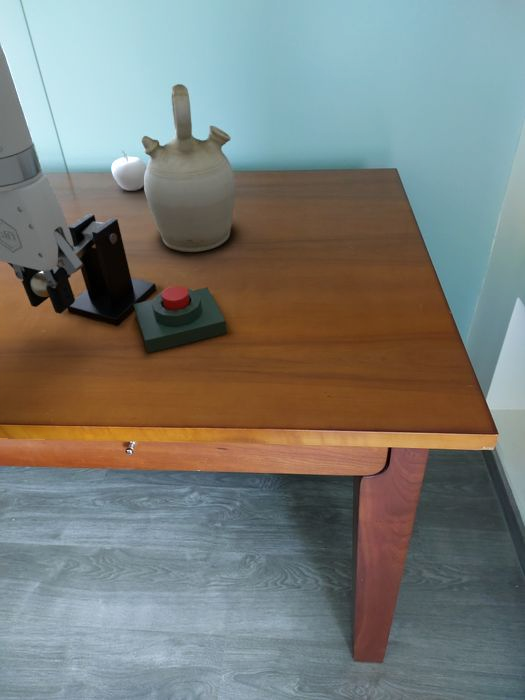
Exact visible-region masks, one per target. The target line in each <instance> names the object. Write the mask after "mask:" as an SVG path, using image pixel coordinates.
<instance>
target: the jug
mask: <svg viewBox="0 0 525 700" xmlns="http://www.w3.org/2000/svg"><path fill="white" fill-rule="evenodd" d="M170 94H171V109H172V119H173V126H174V136H173V138H172V139H171V140H170V141H168V142H167V143H166V144H164V145H160V141H159V140H158V139H153V138H151V137H150V136H148V135H144V136H143V137H142V138H141V144H142V146H143V148H144V153H145V155H147V156H149V157H150V158H149V159H148V162H147V164H146V170H145V176H144V184H143V189H144V195H145V199H146V202H147V204H148V207H149V210H150V212H151V215H152V218H153V221H154V223H155V226H156V228H157V230H158V233H159V235H160V237H161V239H162V241H163V244H164V245H165V246H167V247H168V248H169V249H171V250H174V251H177V252H182V253H200V252H205V251H210V250H213V249H215V248H217V247H219V246H221V245H223V244H224V243H225V242H226V241H227V240H228V239H229V237H230V235H231V229H232V224H233V215H234V209H235V208H234V207H235V198H236V180H235V179H236V178H235V174H234V173H235V172H234V169H233V168H232V165H231V163H230V161H229V159H228V157H227V156H226V154H225V153H224V152H223V150H222V148H223V146H224V145H226V144H227V143H228V142H230V141H231V139H232V138H231V136H230V135H229V134H228V133H227V132H225V131H224V130H222V129H221V128H219V127H217V126H215V125H210V126H209V132H208V137H207V138H206V139H198V138H196V137H194V135H193V134H192V133H193V123H192V111H191V102H190V95H189V90H188V87H186V86H185V85H184V84H180V83H177V84H175V85H173V86H172V87H171V91H170Z"/></svg>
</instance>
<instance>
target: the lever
mask: <svg viewBox="0 0 525 700" xmlns="http://www.w3.org/2000/svg"><path fill="white" fill-rule="evenodd" d="M104 223H105V222H101V221H96V222H95V221H93V222H92V223H91V224H89V225H88V226H87V227H86V228H85V229H84V230H83V231H82V232H81V233H82V236H83V238H84V239H83V240H82V241H81V242H80V243H79V244H78V245H77V246H76V247H75V248H74V253H75V254H76V255H77V257H78V258H79V259H80V258H81V257H82V256H83V255H84V254H85V253H86V252H87V251H88V250H89V249H90V248H91V247H92V248H96V246H95V242H94V238H93V235H92V232H93V231H94V230H96V229H97V228H99V227H100V226H101V225H103V224H104ZM57 270H58V267H57V265H56V266H55V267H53V271H54V274H55V272H56V271H57ZM30 285H31V289H32V290H33V292H34V293H35V294H37V295H38V296H41V297H49V294H48V291H47V287H48V286H49V284H48V282H47V279H46V277H45V275H44V273H43V271H42V272H38V273H36V274H35V275H34V276H33V277H32V279H31V283H30ZM49 298H50V297H49Z"/></svg>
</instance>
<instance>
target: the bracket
mask: <svg viewBox="0 0 525 700" xmlns="http://www.w3.org/2000/svg"><path fill="white" fill-rule="evenodd" d="M93 221H95V222H97V219H96V217H95V214H92V213H88V214H86V215H85V216H83V217H82V218H80V219H78V220H77V221H75V222H74V223H73V224H71V225H68V227H69V230H70V233H71V236H72V240H73V244H74V248H75V247H76V246H77V245H78V244H79V243H80V242H81V241H82V240H83V239H84V238H83V236H82V233H81V232H82V231H83V230H84V229H85V228H86V227H87V226H88V225H89V224H91V223H92V222H93ZM103 223H104V224H103V225H101V226H100V227H99V228H97V229H96V230H94V231H93V232H92V235H93V238H94V242H95V246H96V248H92V247H91V248H90V249H89V250H88V251H87V252H86V253H85V254H84V255H83V256H82V257H81V258H80V261H81V262H82V264H83V267H82V268H80V272H81V275H82V278H83V281H84V285H85V288H86V290H84V291H83V292H82V293H80V294H79V295H78V296H77V297H75V302H74V303H73V304H72V305H71V306H69V307H68V308H67V309H66V310H67V312H68V313H71V314H74V315H78V316H82V317H84V318H89V319H92V320H96V321H99V322H102V323H103V322H104V323H107V324H111V325H115V326H119V325H120V324H122V322H123V321H124V320H125V319H127V318H128V317H129V316H130V315H131V314H132V313H133V312H135V309H134V304H137V303H141V302H145V301H147V299H148V298H149V297H150V296H151V295H153V293H154V292H156V291H157V287H156V283H155V282H151V281H147V280H142V279H139V278H134V277H132V276H131V272H130V267H129V263H128V258H127V255H126V249H125V245H124V242H123V241H124V240H123V237H122V233H121V229H120V224H119V220H118V219H117V218H110V219H109V220H107V221H106V222H103Z"/></svg>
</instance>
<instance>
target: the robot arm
mask: <svg viewBox="0 0 525 700" xmlns="http://www.w3.org/2000/svg"><path fill="white" fill-rule="evenodd" d="M4 49H5V48H4V47H3V44H2V42H0V262H4V263H7V265H9V266H10V267H11V268H12V269H13V271H14V275H15V277H16V278H17V279H18V280H20V281H21V283H22V286H23V288H24V291H25V294H26V296H27V298H28V301H29V304H30V305H31V307H34V308H37V307H39V306H40V305H42V304H43V303H44V302H45V301H47V300H48V299H50V302H51V305H52V308H53V310H54V313H55V314H59V315H60V314H62V313H63V312H65V311H67V310H68V309H67V308H68V307H69V306H71V305H72V304H73V303H74V302H75V299H76V297H75V295H74V292H73V288H72V286H71V283H70V280H69V279H70V277H71V276H72V275H73V274H75V273H76V272H78V271H79V270H81V268H82V267H83V264H82V262H81V261H80V259H79V258H78V257H77V255H76V254H75V253H74V244H73V240H72V236H71V233H70V230H69V224H68V221H67V218H66V217H65V216H66V215H65V214H64V211H63V209H62V206H61V204H60V202H59V199H58V197H57V194H56V193H55V191H54V188H53V186H52V184H51V182H50V181H49V178H48V176H47V175H46V174H44V170H43V167H42V164H41V161H40V158H39V155H38V152H37V148H36V146H35V142H34V139H33V135H32V132H31V129H30V127H29V123H28V119H27V117H26V113H25V110H24V107H23V104H22V101H21V98H20V95H19V91H18V89H17V86H16V82H15V79H14V76H13V73H12V69H11V67H10V64H9V61H8V56H7V54H6V52H5V50H4ZM56 265H57V267H58V270H57V271H56V272H55V274H54V271H53V267H55V266H56ZM42 271H43V273H44V275H45V277H46V279H47V282H48V284H49V286H48V287H47V291H48V294H49V297H41V296H38V295H37V294H35V293H34V292H33V290H32V289H31V285H30V283H31V279H32V277H33V276H34V275H35V274H36V273H38V272H42Z"/></svg>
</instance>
